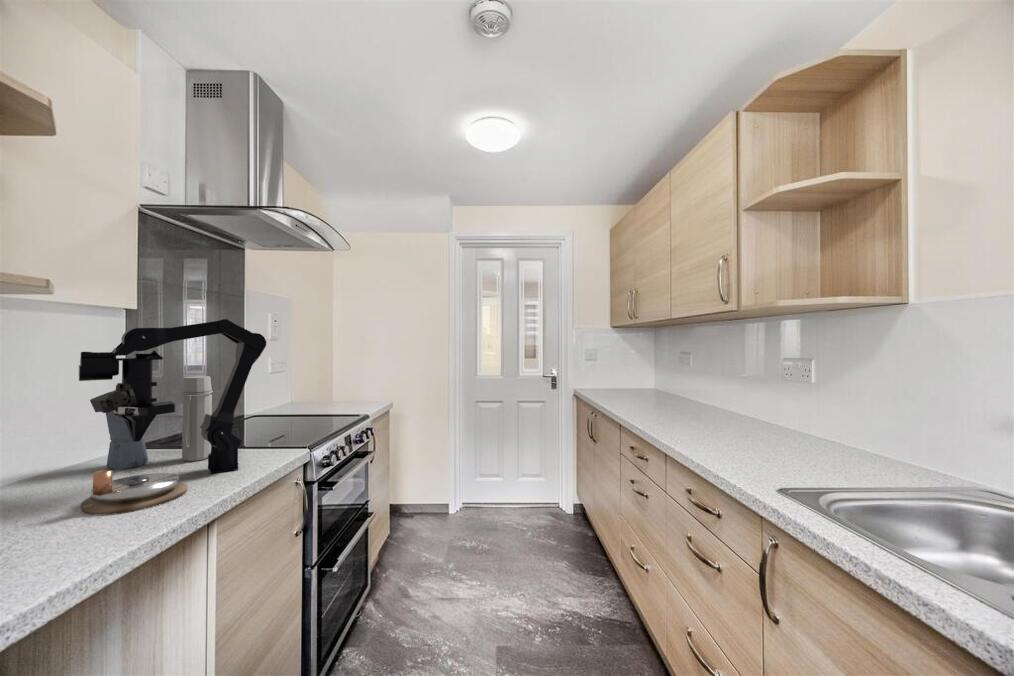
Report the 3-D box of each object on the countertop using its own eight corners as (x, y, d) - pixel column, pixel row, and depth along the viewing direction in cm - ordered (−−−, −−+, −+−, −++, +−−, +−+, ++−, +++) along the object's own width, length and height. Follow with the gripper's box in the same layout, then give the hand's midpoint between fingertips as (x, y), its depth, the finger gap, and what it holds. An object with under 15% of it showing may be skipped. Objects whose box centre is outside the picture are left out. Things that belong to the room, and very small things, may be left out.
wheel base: (190, 480, 108) (190, 475, 108) (181, 503, 93) (182, 497, 93) (94, 493, 98) (95, 488, 98) (67, 521, 83) (67, 515, 83)
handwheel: (150, 479, 105) (151, 452, 105) (194, 485, 100) (194, 457, 100) (70, 501, 90) (71, 470, 90) (117, 510, 85) (118, 477, 86)
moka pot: (94, 474, 112) (95, 400, 112) (115, 460, 126) (116, 393, 126) (140, 470, 116) (141, 398, 117) (155, 456, 130) (156, 392, 130)
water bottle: (190, 456, 131) (191, 376, 131) (217, 455, 132) (218, 376, 132) (170, 464, 122) (171, 378, 122) (199, 463, 123) (200, 378, 123)
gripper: (71, 380, 99) (70, 446, 99) (124, 382, 93) (123, 452, 93) (126, 376, 110) (125, 436, 109) (177, 378, 104) (176, 441, 104)
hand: (136, 441), depth 104 cm, fingers closed
